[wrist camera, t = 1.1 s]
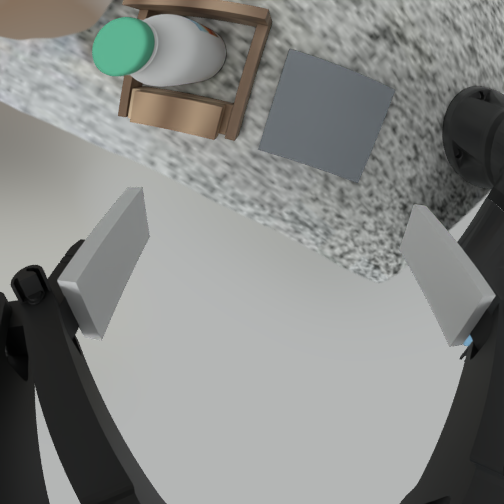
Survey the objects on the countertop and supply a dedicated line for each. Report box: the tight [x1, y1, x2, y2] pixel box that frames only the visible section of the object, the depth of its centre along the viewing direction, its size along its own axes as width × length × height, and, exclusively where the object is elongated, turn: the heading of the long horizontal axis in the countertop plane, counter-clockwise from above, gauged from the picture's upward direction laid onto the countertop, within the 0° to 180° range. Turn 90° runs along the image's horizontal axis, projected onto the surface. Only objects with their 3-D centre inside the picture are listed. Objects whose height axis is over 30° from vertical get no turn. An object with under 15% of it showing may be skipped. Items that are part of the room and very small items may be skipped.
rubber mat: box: [258, 49, 395, 183], centre depth 34 cm, size 14×14×1 cm
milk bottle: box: [92, 14, 226, 87], centre depth 23 cm, size 8×8×20 cm
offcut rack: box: [118, 0, 272, 141], centre depth 29 cm, size 16×16×8 cm
